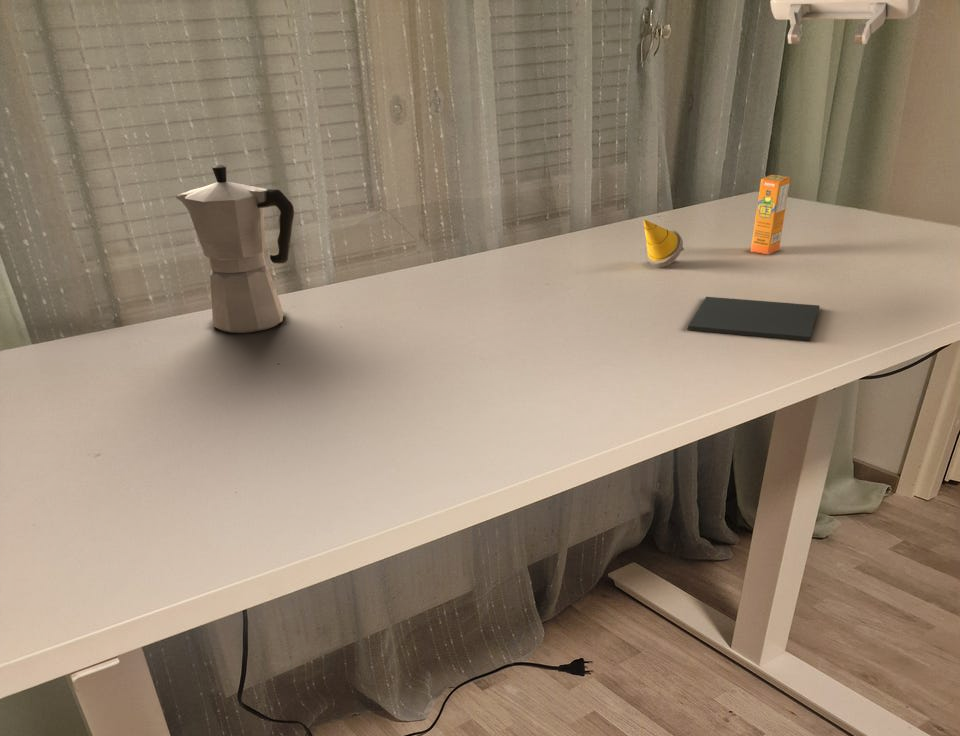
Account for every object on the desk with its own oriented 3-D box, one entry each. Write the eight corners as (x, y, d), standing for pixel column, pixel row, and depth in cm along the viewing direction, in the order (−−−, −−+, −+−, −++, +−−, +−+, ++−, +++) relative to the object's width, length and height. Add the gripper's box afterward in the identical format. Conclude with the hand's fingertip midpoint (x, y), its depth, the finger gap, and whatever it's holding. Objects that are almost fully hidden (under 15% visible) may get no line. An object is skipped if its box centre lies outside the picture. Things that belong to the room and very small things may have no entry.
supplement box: (748, 252, 129) (759, 177, 123) (760, 247, 131) (771, 173, 125) (767, 255, 127) (780, 180, 121) (780, 250, 129) (792, 176, 123)
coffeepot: (184, 329, 109) (146, 171, 98) (223, 307, 116) (192, 156, 105) (293, 338, 105) (266, 173, 94) (327, 314, 112) (305, 158, 101)
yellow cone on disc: (691, 270, 124) (662, 228, 116) (656, 283, 127) (626, 243, 119) (690, 239, 125) (661, 195, 118) (656, 253, 128) (626, 211, 121)
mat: (818, 309, 107) (819, 305, 107) (809, 341, 98) (810, 336, 98) (705, 300, 111) (706, 296, 111) (687, 330, 103) (687, 325, 102)
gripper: (787, -66, 124) (751, 22, 123) (939, -74, 114) (900, 21, 114) (792, -28, 129) (757, 57, 129) (937, -32, 120) (900, 59, 119)
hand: (825, 40), depth 121 cm, fingers open, 8 cm apart
